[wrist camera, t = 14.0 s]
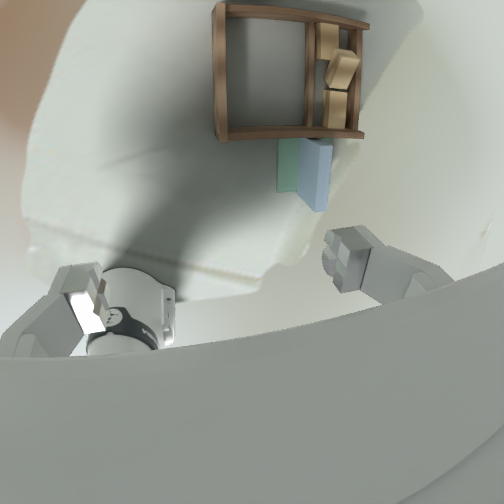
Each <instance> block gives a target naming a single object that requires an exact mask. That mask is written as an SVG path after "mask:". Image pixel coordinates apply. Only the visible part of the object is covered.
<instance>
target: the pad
mask: <svg viewBox="0 0 504 504" xmlns="http://www.w3.org/2000/svg"><path fill="white" fill-rule="evenodd" d="M319 139H321V140H323V141H325V142H327V143H329V144H331V141H332V138H319ZM299 152H300V138H278V167H277V193H279V192H291V191H297V188H298V171H299Z"/></svg>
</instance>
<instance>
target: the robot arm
mask: <svg viewBox="0 0 504 504" xmlns="http://www.w3.org/2000/svg"><path fill="white" fill-rule="evenodd" d="M324 241H325V242H326V244H327V246H326V247H325V248H324V250H323V254H322V263H323V267H324V270H325V271H326V273H327V274H328V275H330V276H332V277H334V278H333V283H334V285H335V286H336V287H337V289H338V290H339V292H340V293H345V292H351V291H355V290H361V291H362V292H363V293H365V294H367V295H368V296H370V297H372V298H373V299H374V300H376V301H378V302H379V303H381V304H382V305H380V306H376V307H373V308H369V309H366V310H362V311H358V312H355V313H351V314H347V315H343V316H339V317H335V318H331V319H327V320H323V321H319V322H314V323H310V324H306V325H301V326H296V327H292V328H287V329H282V330H277V331H273V332H268V333H262V334H257V335H252V336H246V337H241V338H235V339H229V340H223V341H217V342H210V343H203V344H197V345H190V346H182V347H175V348H167V349H165V347H166V346H168V345H170V344H172V343H173V342H174V340H175V290H174V289H173V288H171V287H168V286H166V285H163V284H160V283H159V282H157V281H156V280H155V279H153V278H152V277H151V276H149V275H148V274H146V273H144V272H142V271H139V270H136V269H131V268H116V269H111V270H108V271H106V272H104V273H103V271H102V268H101V266H100V263H98V262H89V263H82V264H74V265H67V266H62V267H60V268H59V269H58V272H57V274H56V276H55V278H54V281H53V283H52V285H51V287H50V290H49V292H48V295H46V296H43V297H42V298H41V299H40V300H38V302H36V303H35V304H34V305H33V306H32V307H31V308H29V309H28V310H27V311H26V312H25V313H24V314H23V315H22V316H21V317H20V318H19V319H18V320H17V321H15V322H14V323H13V324H12V325H11V326H10V327H9V328H8V329H7V330H6V331H5V332H4V333H3V334H2V336H1V339H0V504H504V263H502V264H499V265H497V266H495V267H492V268H490V269H487V270H485V271H482V272H479V273H477V274H474V275H471V276H469V277H466V278H463V279H461V280H458V281H454V280H453V279H452V278H451V277H450V276H449V275H448V274H447V273H446V272H445V271H444V270H443V269H442V268H441V267H440V266H438V265H435V264H433V263H431V262H428V261H426V260H423V259H421V258H419V257H416V256H414V255H411V254H409V253H406V252H404V251H401V250H398V249H396V248H394V247H391V246H385V245H384V244H383V243H382V242H381V241H380V240H379V239H378V238H377V237H376V236H375V235H374V234H373V233H372V232H370V230H368V229H367V228H366V227H365V226H363V225H358V226H352V227H346V228H340V229H333V230H327V232H326V234H325V239H324ZM102 273H103V274H102ZM167 298H170V299H167ZM84 333H87V334H88V336H87V341H86V352H87V356H71V357H69V356H70V354H71V353H72V351H73V350H74V349H75V347H76V346H77V344H78V343H79V342H80V340H81V339H82V337H83V336H84Z"/></svg>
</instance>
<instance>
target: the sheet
mask: <svg viewBox="0 0 504 504" xmlns="http://www.w3.org/2000/svg"><path fill="white" fill-rule="evenodd" d="M332 153H333V146H332V145H331V144H329V143H327V142H325V141H323V140H321V139H319V138H300V152H299V171H298V188H297V194H298V195H299V196H300V197H301V198H302V199H303V200H304V202H305V203H306V204H307V205H308V206H309V207H310V208H311V209H312V210H313V211H314V212H321V211H326V210H327V202H328V193H329V184H330V174H331V164H332Z"/></svg>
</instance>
